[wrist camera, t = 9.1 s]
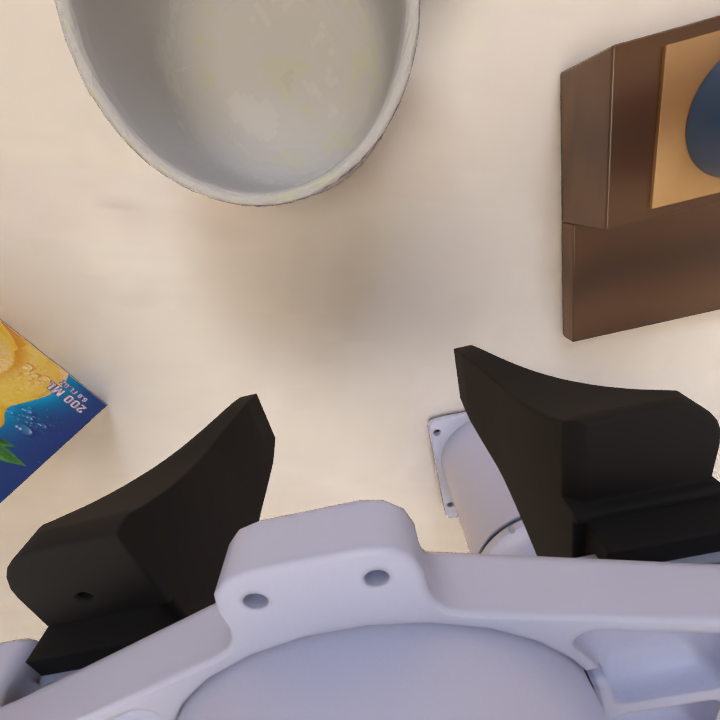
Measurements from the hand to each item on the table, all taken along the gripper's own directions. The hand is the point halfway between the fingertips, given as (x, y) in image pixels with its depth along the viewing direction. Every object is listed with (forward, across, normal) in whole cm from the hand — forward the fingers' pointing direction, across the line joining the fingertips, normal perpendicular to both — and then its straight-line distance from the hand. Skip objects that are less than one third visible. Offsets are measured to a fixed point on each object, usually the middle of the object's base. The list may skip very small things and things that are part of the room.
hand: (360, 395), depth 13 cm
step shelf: (+10, -18, -2) cm, 21 cm away
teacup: (+11, -1, -12) cm, 16 cm away
